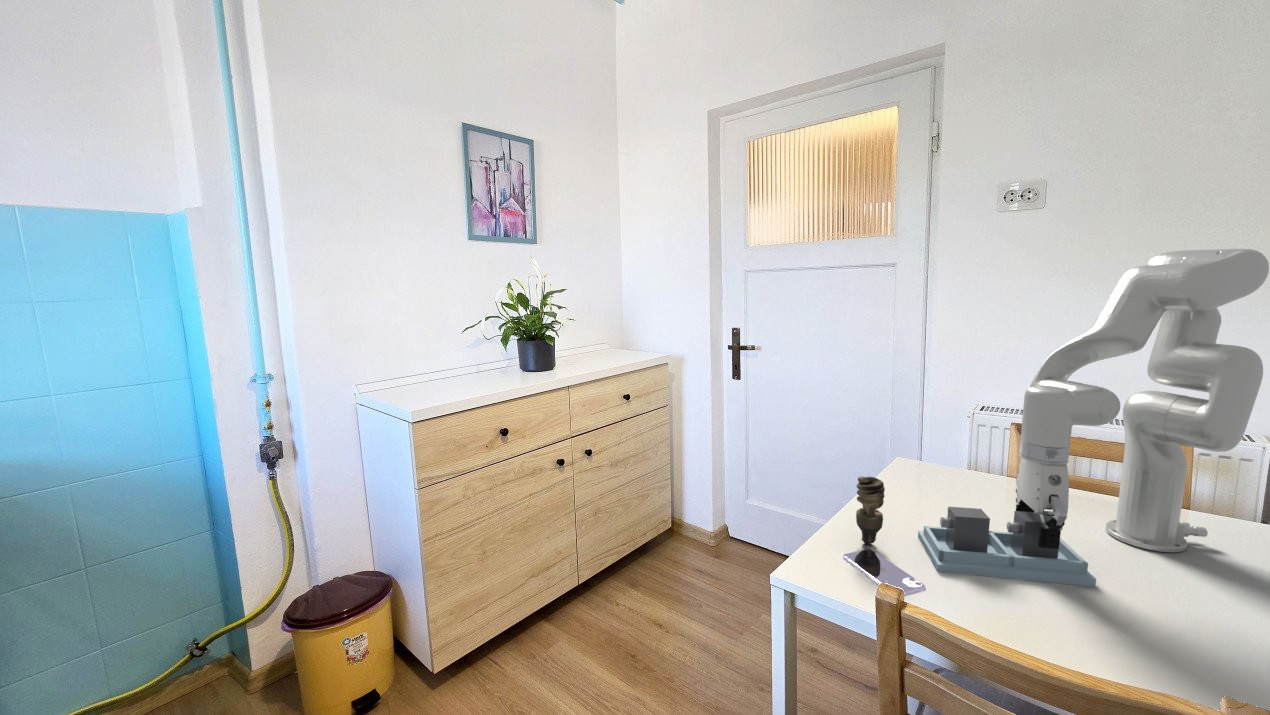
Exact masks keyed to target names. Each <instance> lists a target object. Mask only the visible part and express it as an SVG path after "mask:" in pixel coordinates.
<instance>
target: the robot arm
mask: <svg viewBox="0 0 1270 715" xmlns="http://www.w3.org/2000/svg"><path fill="white" fill-rule="evenodd" d="M1269 264H1270V263H1269V260H1268V259H1267V257H1266V256H1265V255H1264V254H1263V253H1262V252H1260V251H1258V250H1255V249H1251V248H1229V249H1228V248H1227V249H1226V248H1224V249H1220V248H1219V249H1189V250H1188V249H1187V250H1186V249H1185V250H1176V251H1175V250H1174V251H1166V252H1163V253H1158V254H1156V255H1154V256H1152V257H1151V258H1150V259H1148V261H1147V264H1145V265H1140V266H1136V267H1133V268H1130V269H1129V270H1127V271H1125V272H1124V273H1123V274H1122V276H1121V277H1120V278H1119V280H1118V281H1117V283H1116V284H1115V286H1114V288H1113V290H1112V292H1111V294H1109V297H1108V298H1107V300H1106V301H1105V304H1104V305H1103V307H1102V308H1101V310H1100V312H1099V314H1098V316H1097V317H1096V319H1095V321H1094V323H1093V324H1092V326H1091V327H1090V328H1089V330H1087V331H1086V332H1084V333H1082V334H1081V335H1079V336H1077V337H1075V338H1073V339H1071V340H1070V341H1068V342H1066V343H1065V344H1063V345H1062V346H1060V347H1059V348H1058V349H1056V350H1055V351H1053V352H1051V354H1050V355H1048V357H1046V359H1045V360H1044V361H1043V362H1042V364H1040V367H1039V369H1038V371H1036V374H1035V375H1034V377H1033V380H1032V381H1031V383H1030V384H1029V385H1030V386H1029V387H1028V388H1027V389H1026V390H1025V393H1024V398H1023V407H1022V408H1023V409H1022V419H1021V431H1020V440H1019V441H1020V442H1019V451H1018V452H1019V454H1018V457H1020V460H1019V466H1018V472H1017V473H1018V474H1017V477H1015V483H1016V489H1015V493H1016V498H1015V503H1016V504H1015V511H1022V512H1036V513H1038V514H1040V518H1041V522H1042V526H1040V530H1039V540H1038V546H1039V547H1041V548H1051V549H1058V548H1059V543H1060V538H1061V534H1062V531H1063V529H1064V526H1065V525H1066V524H1065V523H1066V520H1067V518H1068V510H1069V497H1070V495H1069V493H1070V478H1069V468H1068V463H1069V458H1070V457H1069V456H1070V448H1071V438H1072V431H1073V426H1086V427H1087V426H1088V427H1090V426H1091V427H1096V426H1097V427H1098V426H1103V425H1106V424H1109V423H1111V422H1112V421H1113V420H1115V419H1116V418H1117V417H1118V415H1119V413H1120V410H1121V402H1120V398H1119V397H1118V396H1117V394H1116V393H1114V392H1113V391H1112V390H1109V389H1108V388H1105V387H1101V386H1098V385H1093V384H1088V383H1082V382H1077V381H1071V380H1068V379H1069V378H1070V377H1071V376H1072V375H1073V374H1074V373H1075V372H1077V371H1078V370H1080V369H1081V368H1083V367H1085V366H1087V365H1089V364H1092V363H1096V362H1098V361H1103V360H1108V359H1113V358H1117V357H1120V356H1125V355H1129V354H1133V353H1136V352H1138V351H1140V350H1142V349H1143V348H1144V347H1145V346H1146V344H1147V342H1148V340H1149V338H1150V337H1151V336H1152V334H1153V331H1154V329H1155V328H1156V327H1157V325H1158V324H1159V321H1160V324H1159V326H1158V327H1159V328H1158V330H1157V332H1156V336H1155V340H1154V342H1153V347H1152V349H1151V351H1150V352H1151V353H1150V356H1149V359H1148V363H1147V367H1146V368H1147V369H1146V371H1147V375H1148V377H1149V379H1151V380H1152V381H1153V382H1155V383H1158V384H1160V385H1164V386H1169V387H1173V388H1178V389H1184V390H1190V391H1196V392H1197V391H1198V392H1202V393H1203V392H1204V393H1209V394H1208V395H1209V396H1208V399H1206V398H1200V397H1193V396H1189V395H1185V394H1184V395H1183V394H1177V393H1171V392H1168V391H1167V392H1165V391H1160V390H1159V391H1158V390H1144V391H1138V392H1136V393H1133V394H1131V395H1130V396H1129V397H1128V398H1127V399H1126V400H1125V401H1124V404H1123V407H1122V421H1123V422H1122V423H1123V428H1124V452H1123V454H1124V455H1123V463H1122V469H1121V470H1122V471H1121V477H1120V486H1119V492H1118V493H1119V494H1118V503H1117V509H1116V510H1117V511H1116V519H1113V520H1110V521H1108V522H1106V523H1105V531H1106V532H1107V534H1109V535H1110V536H1111V537H1113V538H1114V539H1117V540H1118V541H1121V542H1123V543H1125V544H1128V545H1131V546H1134V547H1137V548H1140V549H1145V550H1147V551H1154V552H1161V553H1179V552H1180V553H1181V552H1184V551H1186V550H1187V548H1188V541H1187V540H1186V539H1185V538H1188V537H1189V536H1193V537H1200V538H1201V537H1203V538H1206V537H1207V536H1208V535H1209V534H1208V533H1209V532H1208V530H1207V528H1205V527H1203V526H1193V525H1192V526H1191V525H1190V523H1189V522H1185V521H1181V520H1180V519H1181V514H1182V506H1183V500H1184V493H1185V484H1186V477H1187V472H1188V460H1187V456H1186V454H1185V453H1184V450H1183V448H1182V446H1181V445H1183V446H1187V447H1191V448H1196V449H1199V450H1204V451H1208V452H1214V453H1225V452H1229V451H1231V450H1234V449H1235V448H1236V447H1237V445H1239V443H1241V440H1242V439H1243V437H1244V434H1245V432H1246V429H1247V427H1248V424H1249V421H1250V418H1251V415H1252V412H1253V409H1254V406H1255V403H1256V400H1257V398H1258V397H1257V396H1258V394H1259V391H1260V388H1261V384H1262V382H1263V376H1264V365H1263V361H1262V359H1261V357H1260V355H1259V354H1258V353H1257V352H1256V351H1255V350H1253V349H1251V348H1248V347H1245V346H1241V345H1240V346H1239V345H1232V344H1221V343H1217V339H1218V336H1219V332H1220V328H1221V325H1222V316H1221V313H1220V311H1219V309H1218V308H1219V307H1221V306H1222V307H1223V306H1224V305H1226V304H1229V303H1231V302H1232V303H1233V302H1235V301H1237V300H1240V299H1242V298H1245V297H1246V296H1249V295H1251V294H1253V293H1255V291H1257V290H1258V289H1260V288H1261V287H1262V285H1264V283H1265V282H1266V280H1267V278H1268V276H1269V273H1270V265H1269ZM1047 516H1053V517H1054V519H1053V518H1052V519H1050V520H1049V521H1048V520H1047Z"/></svg>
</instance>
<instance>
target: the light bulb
mask: <svg viewBox="0 0 1270 715" xmlns="http://www.w3.org/2000/svg"><path fill="white" fill-rule="evenodd" d="M857 481H858V482H857V484H856V488H857V489H858V490H857V491H856V494H857V496H856V500H857V502H858V503H860V504H861V505H862V508H859V509H857V510H856V513H855V514H856V515H855V521H856V525H857V527H858V528H859V530H860V531H861V541H862V542H863V544H864V545H865V546H870V545H871V544H873V543H875V541H877V533H879V531H880V530H882V527H883V523H884V514H883V513H882V511H880V510H878V509H880V508H881V507H882V506H883V505H884V503H885V501H884V498H885V491H886V490H885V489H886V488H885V485H884V482H883V481H882V480H881V479H878V478H877V477H875V476H858V478H857Z"/></svg>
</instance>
